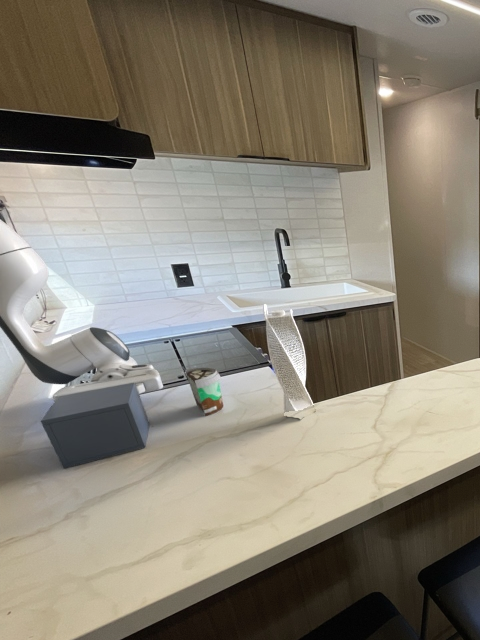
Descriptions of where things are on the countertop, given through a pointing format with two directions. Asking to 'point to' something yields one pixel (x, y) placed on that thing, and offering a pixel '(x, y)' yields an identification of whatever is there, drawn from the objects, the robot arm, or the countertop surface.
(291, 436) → the countertop surface
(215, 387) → the food container
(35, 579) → the countertop surface
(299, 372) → the skyscraper
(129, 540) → the countertop surface
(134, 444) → the cabinet
